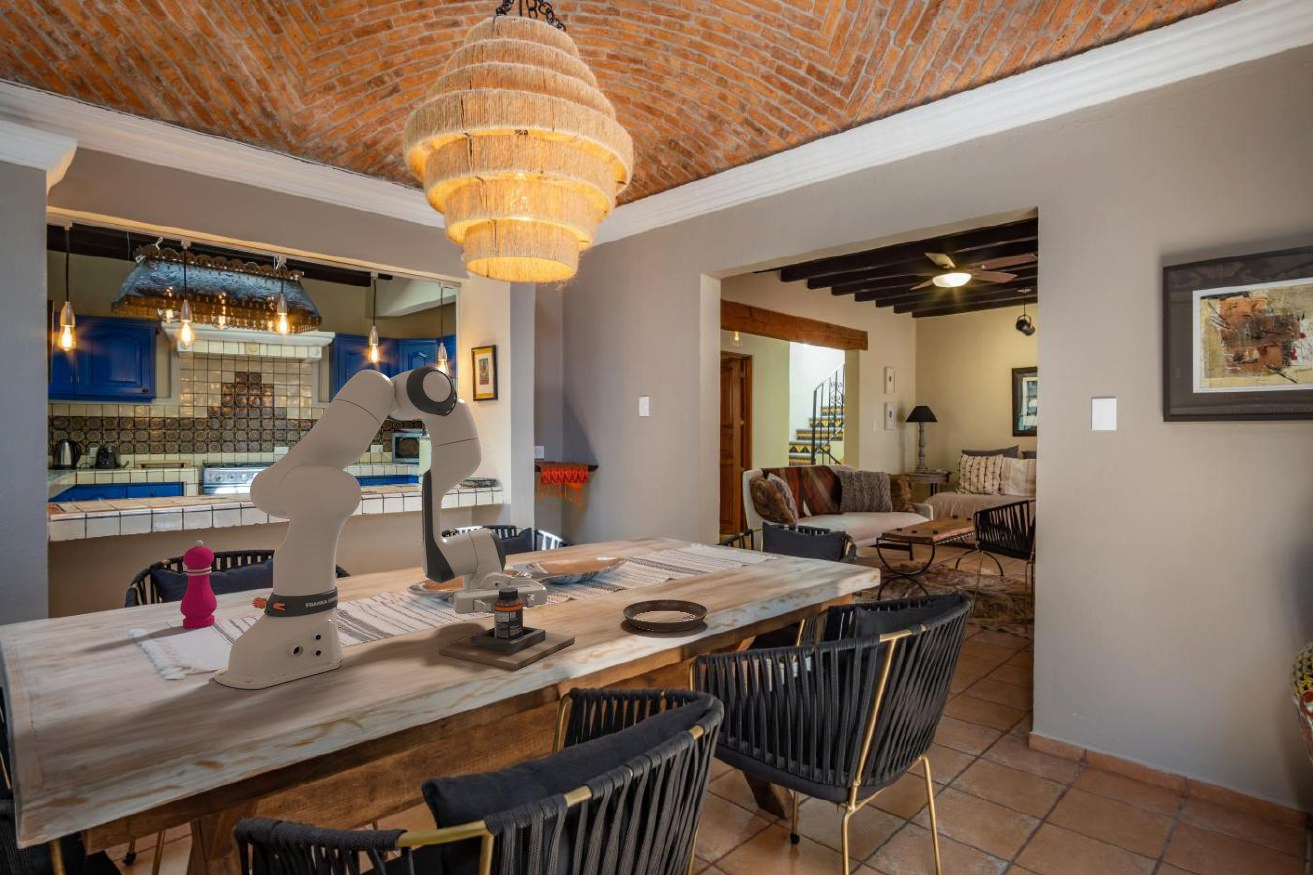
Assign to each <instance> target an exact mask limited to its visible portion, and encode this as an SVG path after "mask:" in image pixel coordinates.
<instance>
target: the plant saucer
mask: <svg viewBox="0 0 1313 875" xmlns="http://www.w3.org/2000/svg"><path fill="white" fill-rule="evenodd" d="M650 611H680V612H686V613H689V614H692V615H695V616H696V617H695V618H691V617H690V616H692V615H690V616H687V617H683V618H682V619H693V620H688V621H681V622H648V621H641V620H637V619H633V617H634V616H636V615H637V614H640V613H645V612H650ZM708 613H709V609H708V608H707V607H706V606H704V605H703V604H701V603H698V602H694V601H689V600H683V599H652V600H651V599H650V600H644V601H639V602H634V603H631V604H630V605H629V604H628V605H626V606H625V607H623V609H622V615H623V616H624V618H625V619H626V621H628V623H629V624H631V625H632V626H633V625H634V626H633V627H635V626H637V627H640V628H644V629H650V630H653V631H652V632H656V633H657V632H659V633H660V632H661V633H673V632H682V631H683V632H684V631H688V630H691V629H693V628H695V627H697V626H699V625H700V624H701V623H702V622H703V621H704V619H705V618H706V617H707V615H708ZM692 617H693V616H692ZM637 627H636V628H637Z"/></svg>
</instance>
